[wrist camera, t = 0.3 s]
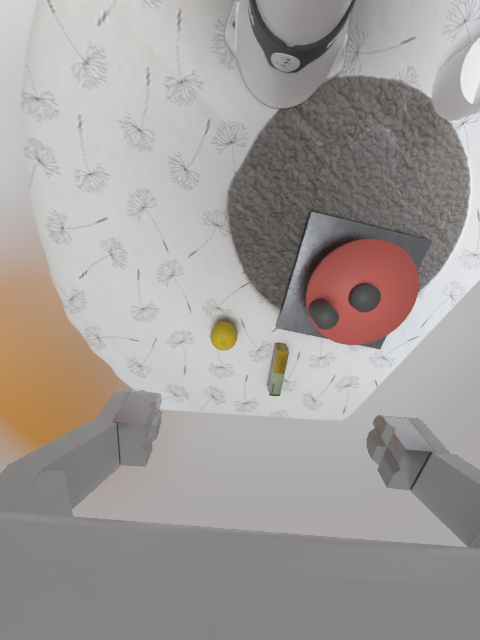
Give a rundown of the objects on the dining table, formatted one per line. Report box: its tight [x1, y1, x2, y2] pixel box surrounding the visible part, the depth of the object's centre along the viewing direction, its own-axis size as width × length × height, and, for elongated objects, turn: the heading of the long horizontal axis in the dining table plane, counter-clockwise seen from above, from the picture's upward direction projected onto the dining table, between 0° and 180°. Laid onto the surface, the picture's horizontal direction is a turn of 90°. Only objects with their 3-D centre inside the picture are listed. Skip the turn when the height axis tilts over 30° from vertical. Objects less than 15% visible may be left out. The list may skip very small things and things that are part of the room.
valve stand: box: [276, 212, 432, 349], centre depth 52 cm, size 24×24×6 cm
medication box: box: [267, 343, 289, 396], centre depth 61 cm, size 12×3×4 cm, turn 174°
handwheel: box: [306, 238, 419, 345], centre depth 46 cm, size 20×20×6 cm
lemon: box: [211, 322, 237, 350], centre depth 55 cm, size 6×6×8 cm
